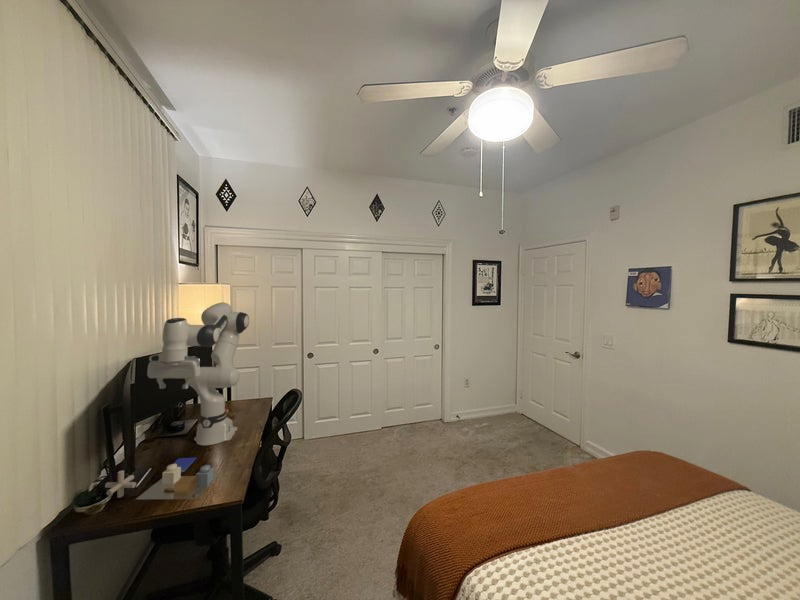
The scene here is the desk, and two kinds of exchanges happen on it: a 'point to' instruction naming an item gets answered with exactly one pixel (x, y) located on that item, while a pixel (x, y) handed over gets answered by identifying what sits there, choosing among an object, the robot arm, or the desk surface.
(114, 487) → the pipe connector
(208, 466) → the blue-grey knobbed block
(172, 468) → the cream knobbed block
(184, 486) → the pigtail stub
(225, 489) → the desk surface
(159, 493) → the plate
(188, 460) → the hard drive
